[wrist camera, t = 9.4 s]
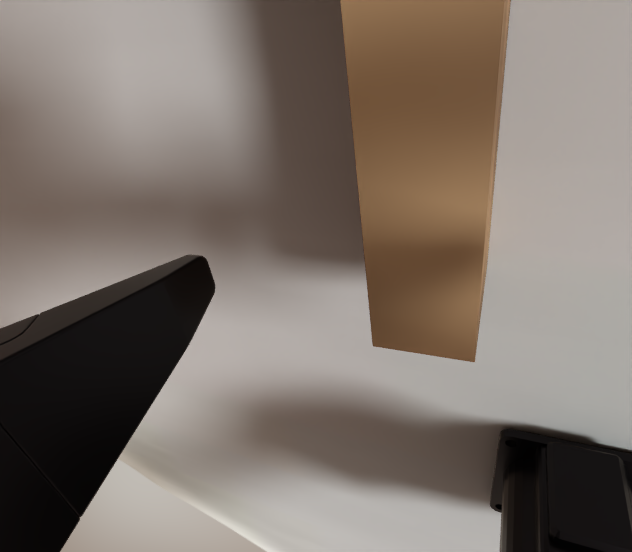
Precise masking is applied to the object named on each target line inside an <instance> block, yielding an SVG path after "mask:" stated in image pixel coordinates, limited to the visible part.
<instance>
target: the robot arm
mask: <svg viewBox="0 0 632 552" xmlns="http://www.w3.org/2000/svg"><path fill="white" fill-rule="evenodd" d="M214 293H215V282H214V279H213V276H212V273H211V270H210V267H209V264H208V261H207V260H206V258H205V257H203V256H199V255H186V256H183V257H181V258H178V259H176V260H173V261H171V262H168V263H166V264H163V265H161V266H158V267H156V268H153V269H151V270H148V271H146V272H143V273H140V274H138V275H135V276H133V277H130V278H128V279H125V280H123V281H120V282H118V283H115V284H113V285H110V286H108V287H105V288H103V289H100V290H97V291H95V292H92V293H90V294H87V295H85V296H82V297H80V298H77V299H75V300H72V301H70V302H67V303H65V304H62V305H60V306H57V307H54V308H52V309H49V310H47V311H44V312H42V313H41V314H40V315H38V314H37V315H34V316H32V317H29V318H27V319H24V320H21V321H19V322H16V323H14V324H11V325H8V326H6V327H3V328H1V329H0V552H60V551H61V549H62V548H63V546H64V544H65V543H66V541H67V540H68V538H69V536H70V535H71V533H72V532H73V530H74V529H75V527H76V525H77V524H78V522H79V521H80V517H81V516H82V515H83V514H84V512H85V510H86V509H87V507H88V506H89V504H90V502H91V501H92V499H93V498H94V496H95V494H96V493H97V491H98V490H99V488H100V486H101V485H102V483H103V482H104V480H105V478H106V477H107V475H108V474H109V472H110V470H111V469H112V467H113V466H114V464H115V462H116V461H117V459H118V458H119V456H120V454H121V453H122V451H123V450H124V448H125V446H126V445H127V443H128V442H129V440H130V438H131V437H132V435H133V434H134V432H135V430H136V429H137V427H138V426H139V424H140V422H141V421H142V419H143V418H144V416H145V414H146V413H147V411H148V410H149V408H150V406H151V405H152V403H153V402H154V400H155V398H156V397H157V395H158V394H159V392H160V390H161V389H162V387H163V386H164V384H165V382H166V381H167V379H168V378H169V376H170V374H171V373H172V371H173V370H174V368H175V366H176V365H177V363H178V362H179V360H180V358H181V357H182V355H183V354H184V352H185V350H186V349H187V347H188V345H189V343H190V342H191V340H192V338H193V336H194V334H195V332H196V330H197V328H198V326H199V324H200V322H201V320H202V318H203V316H204V314H205V312H206V310H207V307H208V305H209V303H210V301H211V299H212V297H213V295H214ZM490 506H491V507H492V509H494V510H495V511H498V512H501V513H502V514H501V535H500V552H632V454H628V453H623V452H618V451H613V450H609V449H604V448H599V447H594V446H589V445H585V444H580V443H575V442H570V441H565V440H560V439H556V438H551V437H546V436H541V435H536V434H532V433H527V432H522V431H517V430H512V429H506V430H503V431H501V433H500V437H499V444H498V451H497V458H496V464H495V471H494V478H493V485H492V492H491V500H490Z"/></svg>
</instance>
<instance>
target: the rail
mask: <svg viewBox="0 0 632 552" xmlns="http://www.w3.org/2000/svg"><path fill="white" fill-rule="evenodd" d="M340 2H341V13H342V24H343V34H344V45H345V55H346V66H347V77H348V87H349V98H350V108H351V119H352V130H353V140H354V151H355V162H356V172H357V183H358V193H359V204H360V215H361V225H362V236H363V247H364V257H365V268H366V278H367V289H368V300H369V310H370V321H371V331H372V342H373V346H376V347H382V348H388V349H395V350H401V351H407V352H414V353H420V354H426V355H432V356H439V357H445V358H451V359H458V360H464V361H470V362H475V355H476V347H477V340H478V332H479V324H480V316H481V308H482V301H483V293H484V285H485V277H486V269H487V259H488V248H489V237H490V226H491V215H492V203H493V192H494V181H495V170H496V158H497V147H498V136H499V125H500V114H501V102H502V91H503V80H504V69H505V58H506V46H507V35H508V24H509V13H510V2H511V0H340Z"/></svg>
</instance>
